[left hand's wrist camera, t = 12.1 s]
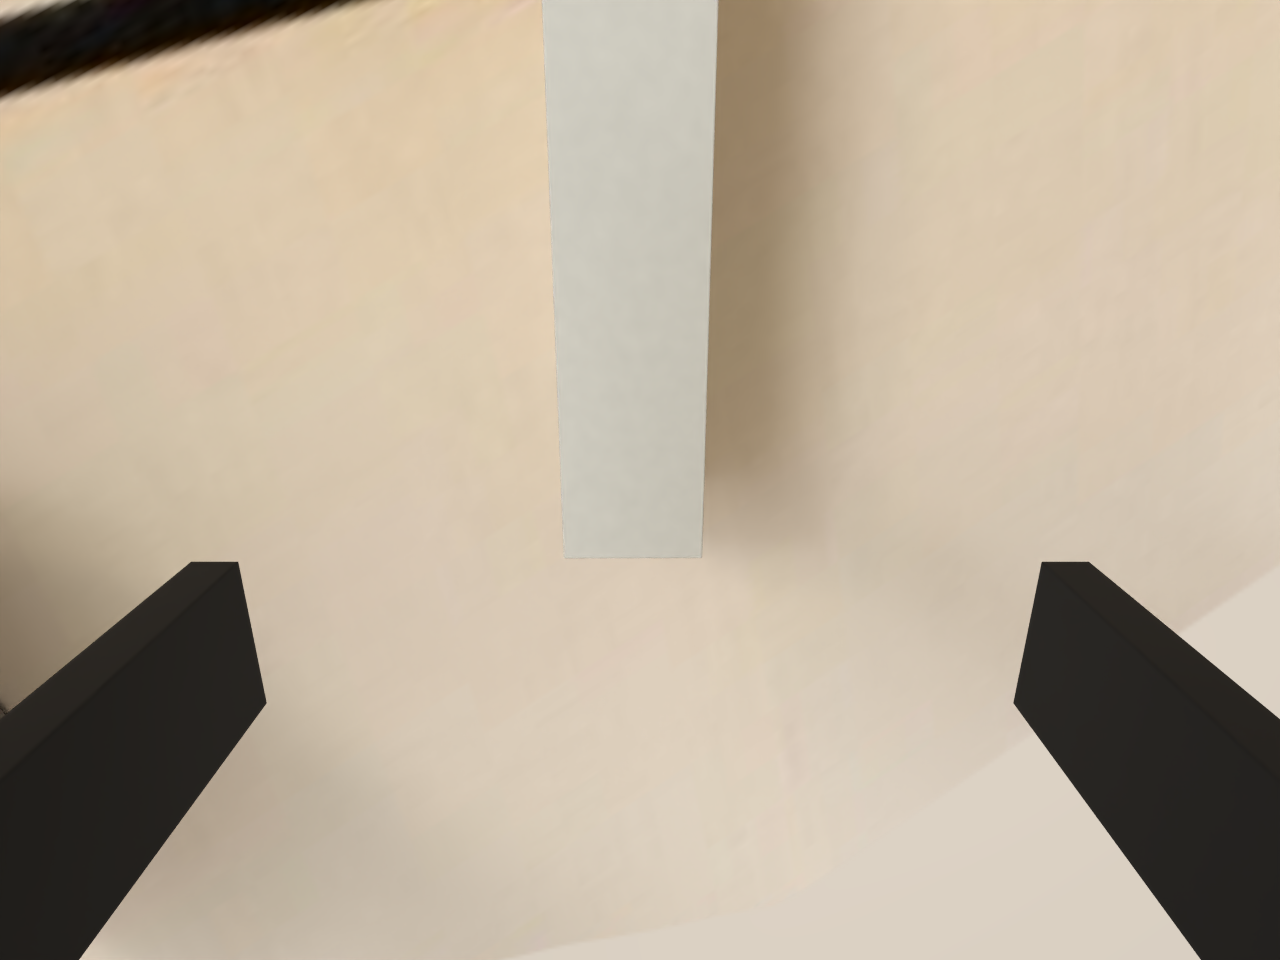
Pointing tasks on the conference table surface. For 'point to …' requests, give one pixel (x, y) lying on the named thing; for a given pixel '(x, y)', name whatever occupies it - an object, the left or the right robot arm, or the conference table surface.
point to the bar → (631, 267)
